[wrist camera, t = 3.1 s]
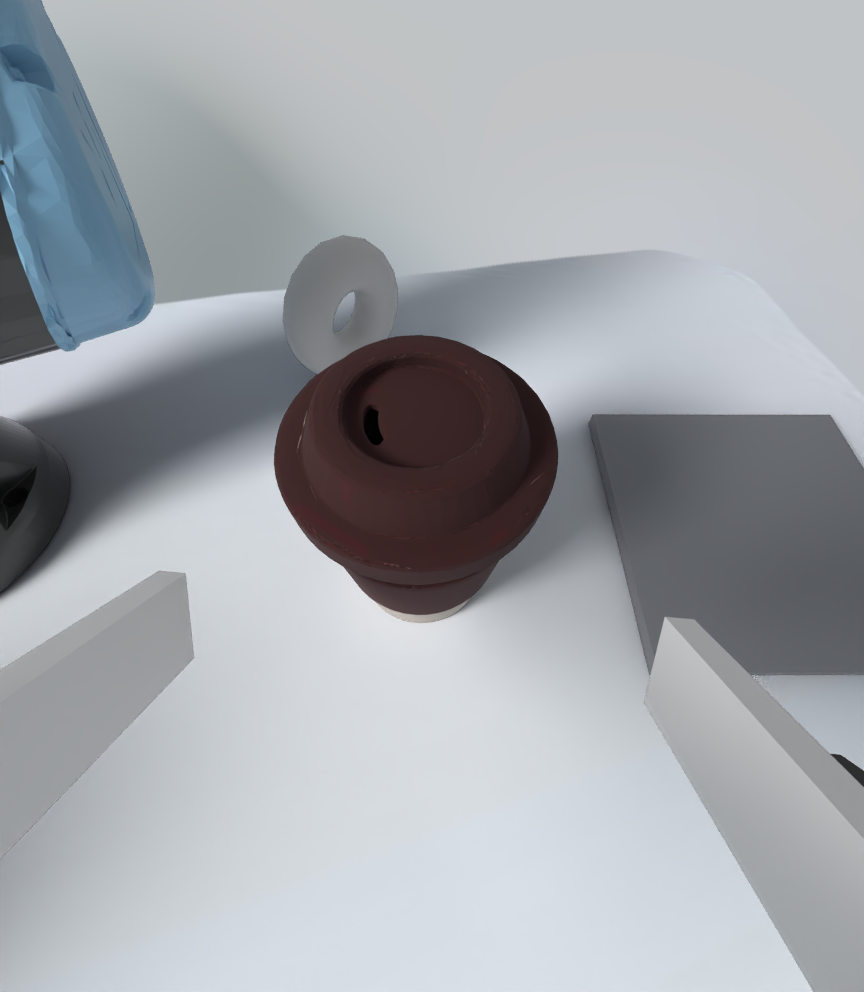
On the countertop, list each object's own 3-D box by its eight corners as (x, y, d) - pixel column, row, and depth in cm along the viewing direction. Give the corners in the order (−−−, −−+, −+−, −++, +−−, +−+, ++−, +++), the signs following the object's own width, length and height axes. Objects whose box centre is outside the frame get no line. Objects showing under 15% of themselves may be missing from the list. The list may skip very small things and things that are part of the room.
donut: (381, 326, 37) (367, 203, 29) (410, 343, 36) (404, 221, 28) (296, 387, 34) (249, 267, 25) (324, 408, 32) (286, 291, 24)
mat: (649, 675, 23) (658, 673, 22) (588, 423, 32) (593, 414, 31) (968, 674, 23) (989, 672, 22) (819, 423, 32) (830, 414, 31)
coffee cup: (519, 528, 27) (602, 346, 14) (469, 677, 23) (522, 609, 10) (385, 479, 29) (350, 278, 16) (313, 608, 25) (185, 474, 12)
